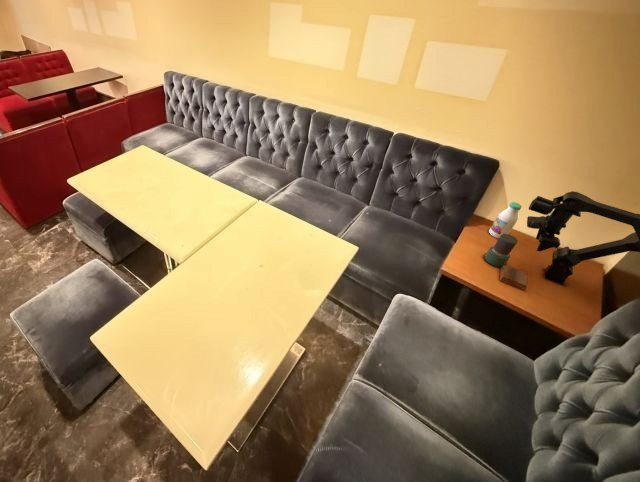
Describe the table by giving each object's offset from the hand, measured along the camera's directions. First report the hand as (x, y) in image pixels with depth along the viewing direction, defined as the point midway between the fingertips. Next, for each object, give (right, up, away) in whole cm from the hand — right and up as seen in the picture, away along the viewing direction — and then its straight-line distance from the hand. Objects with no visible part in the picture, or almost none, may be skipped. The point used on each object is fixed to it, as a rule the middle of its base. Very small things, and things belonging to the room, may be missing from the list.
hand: (537, 245), depth 141 cm
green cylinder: (-12, -9, +9) cm, 18 cm away
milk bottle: (+2, +1, +25) cm, 25 cm away
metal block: (-12, -16, 0) cm, 19 cm away
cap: (-12, -3, +5) cm, 14 cm away
